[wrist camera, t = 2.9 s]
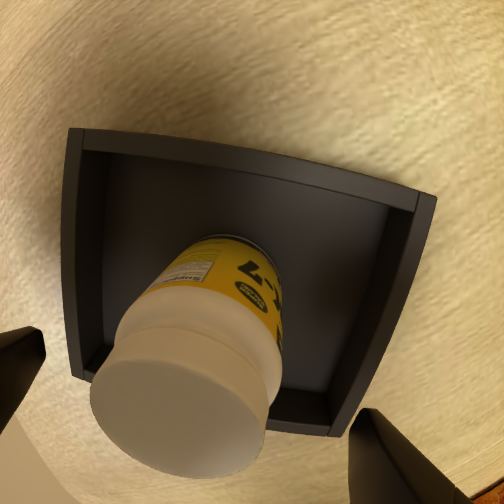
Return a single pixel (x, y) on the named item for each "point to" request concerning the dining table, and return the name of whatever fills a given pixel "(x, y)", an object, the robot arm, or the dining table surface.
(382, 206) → the tray
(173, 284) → the supplement bottle
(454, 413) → the dining table surface
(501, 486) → the croissant
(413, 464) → the robot arm
